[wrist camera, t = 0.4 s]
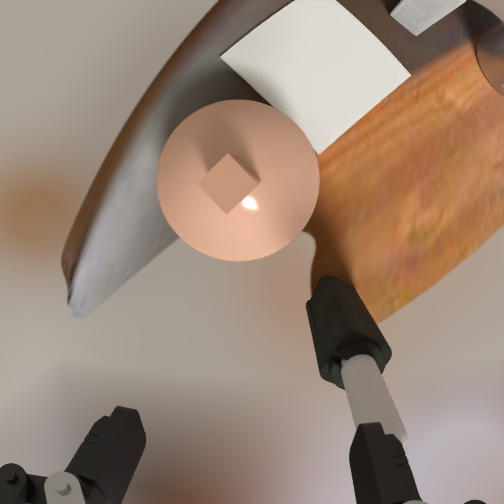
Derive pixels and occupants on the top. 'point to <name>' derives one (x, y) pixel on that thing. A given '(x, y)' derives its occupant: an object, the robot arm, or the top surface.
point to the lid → (238, 180)
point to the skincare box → (422, 13)
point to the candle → (353, 354)
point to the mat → (317, 67)
